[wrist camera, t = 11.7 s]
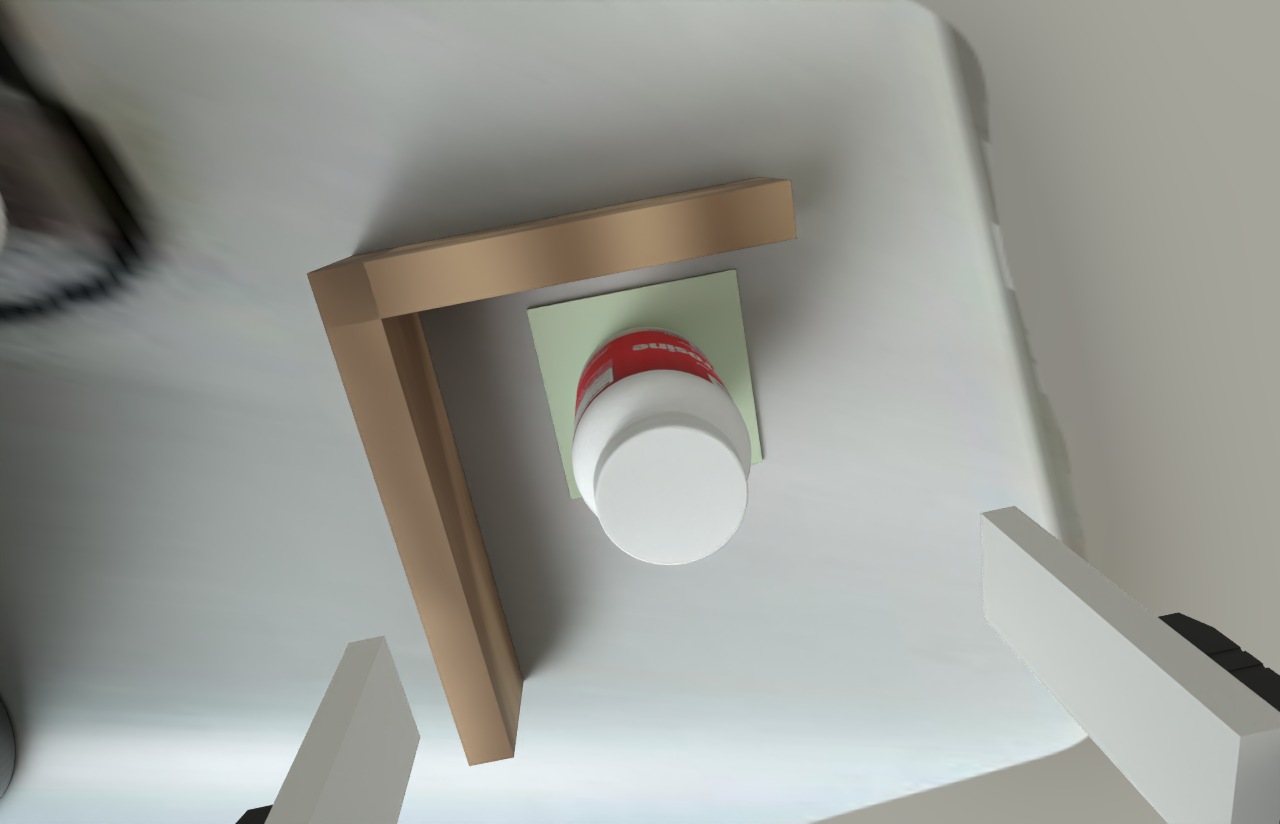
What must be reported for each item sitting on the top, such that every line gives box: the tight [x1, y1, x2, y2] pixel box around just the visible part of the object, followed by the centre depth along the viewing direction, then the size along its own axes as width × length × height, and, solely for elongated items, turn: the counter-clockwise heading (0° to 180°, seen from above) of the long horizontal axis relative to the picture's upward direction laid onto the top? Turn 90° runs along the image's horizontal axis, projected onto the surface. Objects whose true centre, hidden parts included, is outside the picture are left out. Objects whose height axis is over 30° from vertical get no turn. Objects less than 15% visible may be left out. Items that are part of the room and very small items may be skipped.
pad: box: [527, 269, 762, 500], centre depth 33 cm, size 9×9×1 cm
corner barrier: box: [307, 177, 797, 766], centre depth 31 cm, size 17×22×5 cm
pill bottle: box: [572, 326, 751, 565], centre depth 27 cm, size 6×6×11 cm
